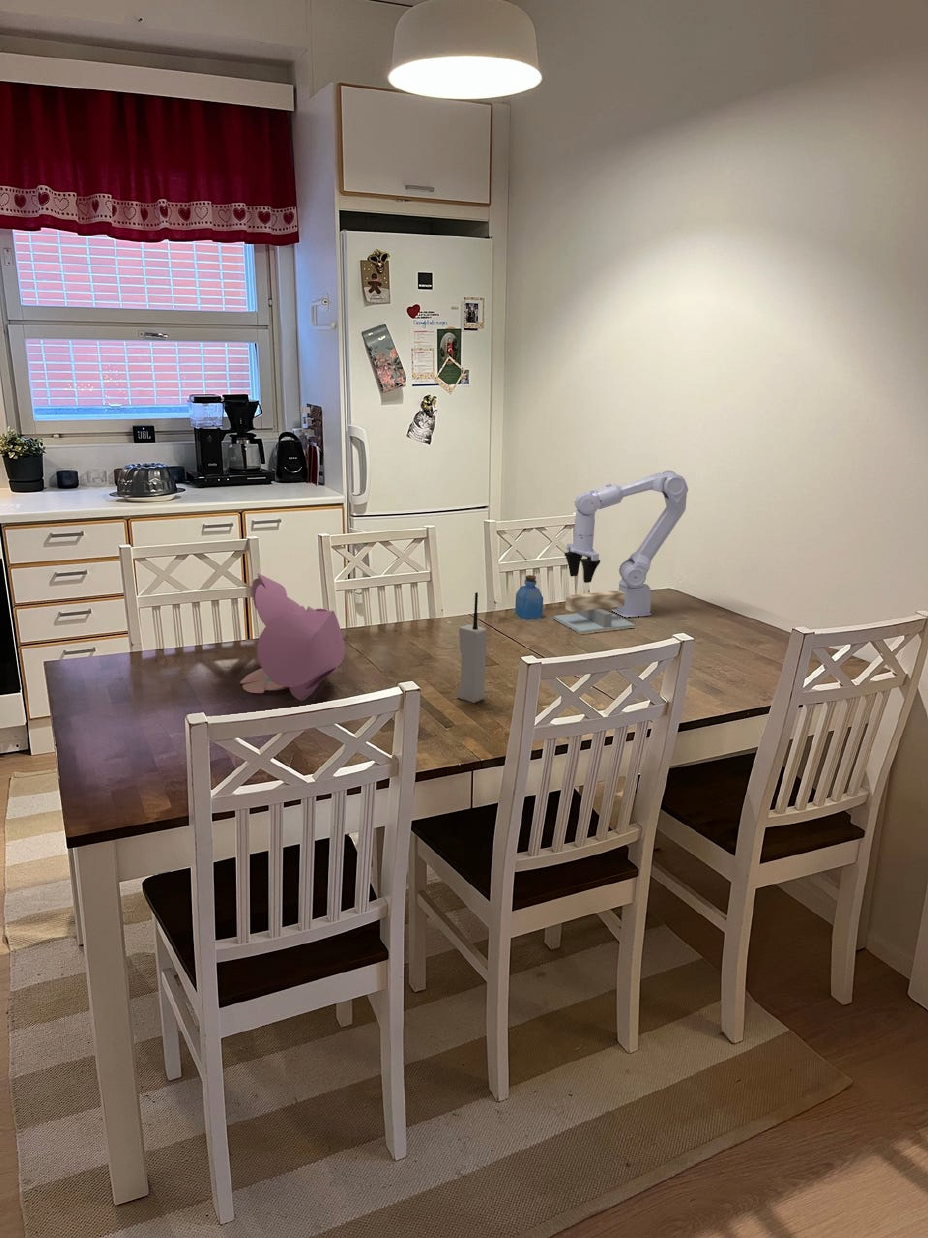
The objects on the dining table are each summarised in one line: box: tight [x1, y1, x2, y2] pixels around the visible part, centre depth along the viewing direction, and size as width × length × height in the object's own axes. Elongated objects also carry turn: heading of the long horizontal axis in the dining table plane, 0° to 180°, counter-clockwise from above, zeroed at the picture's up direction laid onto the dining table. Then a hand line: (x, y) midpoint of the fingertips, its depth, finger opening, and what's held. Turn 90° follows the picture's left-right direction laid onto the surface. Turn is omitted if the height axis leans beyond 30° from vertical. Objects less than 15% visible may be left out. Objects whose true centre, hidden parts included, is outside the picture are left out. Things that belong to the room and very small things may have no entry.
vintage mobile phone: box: [456, 591, 488, 704], centre depth 204 cm, size 4×5×25 cm
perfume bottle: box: [514, 574, 544, 620], centre depth 270 cm, size 6×6×12 cm
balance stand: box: [553, 608, 636, 633], centre depth 265 cm, size 18×15×5 cm
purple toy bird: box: [239, 572, 346, 702], centre depth 209 cm, size 35×24×28 cm
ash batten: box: [564, 589, 625, 613], centre depth 263 cm, size 18×3×4 cm, turn 115°
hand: (580, 579), depth 273 cm, fingers open, 7 cm apart
